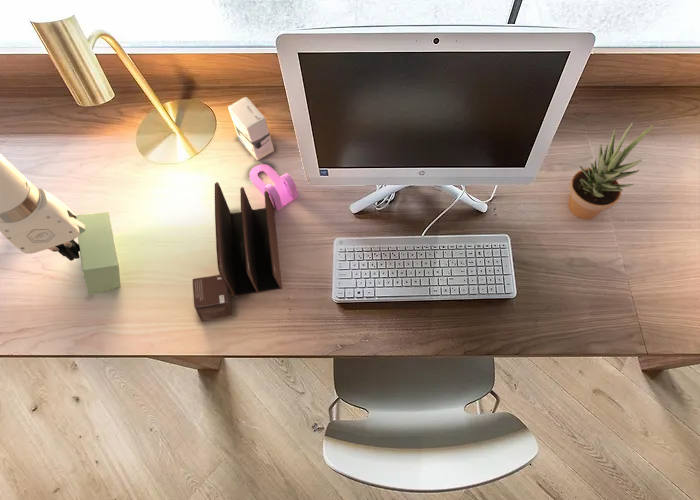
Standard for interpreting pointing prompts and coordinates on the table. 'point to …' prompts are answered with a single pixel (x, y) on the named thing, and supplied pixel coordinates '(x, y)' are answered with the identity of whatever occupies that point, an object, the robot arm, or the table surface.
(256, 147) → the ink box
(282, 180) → the bracket
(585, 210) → the potted plant
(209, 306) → the box
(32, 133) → the table surface
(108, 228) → the tissue box
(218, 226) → the letter holder
